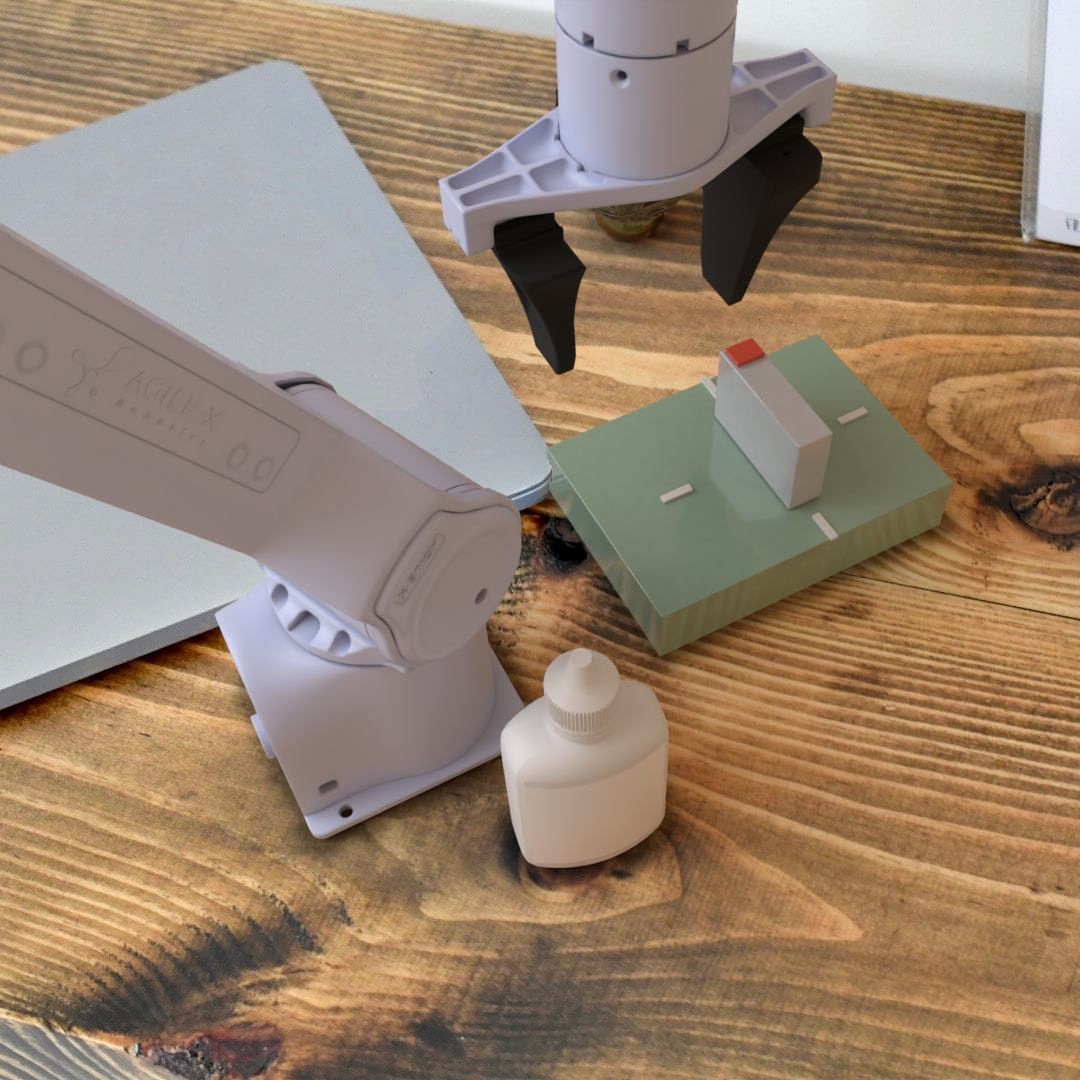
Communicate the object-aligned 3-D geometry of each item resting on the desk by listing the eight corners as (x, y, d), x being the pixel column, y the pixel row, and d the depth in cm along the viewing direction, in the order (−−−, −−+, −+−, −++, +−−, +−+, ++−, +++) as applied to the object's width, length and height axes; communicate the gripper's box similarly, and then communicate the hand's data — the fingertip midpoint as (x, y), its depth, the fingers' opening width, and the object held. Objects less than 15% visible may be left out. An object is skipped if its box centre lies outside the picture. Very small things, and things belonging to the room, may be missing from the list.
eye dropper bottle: (653, 889, 48) (662, 734, 38) (503, 864, 49) (474, 706, 39) (670, 782, 50) (681, 610, 41) (527, 759, 51) (505, 586, 41)
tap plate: (661, 659, 53) (663, 617, 51) (547, 488, 59) (544, 443, 57) (941, 526, 57) (956, 481, 54) (808, 377, 62) (816, 329, 60)
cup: (538, 252, 68) (530, 123, 62) (588, 167, 72) (585, 37, 66) (674, 284, 66) (680, 154, 60) (718, 195, 70) (727, 64, 64)
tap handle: (821, 496, 54) (835, 428, 51) (788, 510, 54) (800, 444, 50) (744, 402, 57) (752, 333, 54) (713, 415, 57) (719, 346, 54)
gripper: (771, -113, 45) (741, 204, 56) (383, 13, 41) (432, 323, 52) (895, -15, 41) (837, 304, 52) (477, 132, 38) (509, 441, 48)
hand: (639, 322), depth 52 cm, fingers open, 7 cm apart
